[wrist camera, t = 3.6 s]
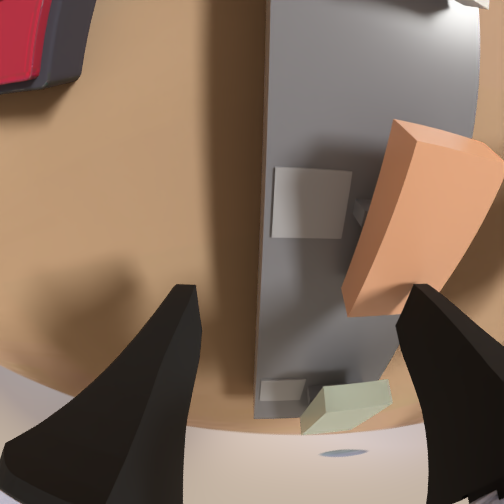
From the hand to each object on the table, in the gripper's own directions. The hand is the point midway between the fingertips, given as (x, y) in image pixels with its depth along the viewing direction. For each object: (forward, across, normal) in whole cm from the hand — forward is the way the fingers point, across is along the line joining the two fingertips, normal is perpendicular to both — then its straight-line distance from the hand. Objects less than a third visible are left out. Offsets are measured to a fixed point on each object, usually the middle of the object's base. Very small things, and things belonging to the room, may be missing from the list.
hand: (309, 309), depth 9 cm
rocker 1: (+1, -4, +10) cm, 10 cm away
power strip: (+6, -3, -7) cm, 10 cm away
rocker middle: (+1, -4, -2) cm, 5 cm away
